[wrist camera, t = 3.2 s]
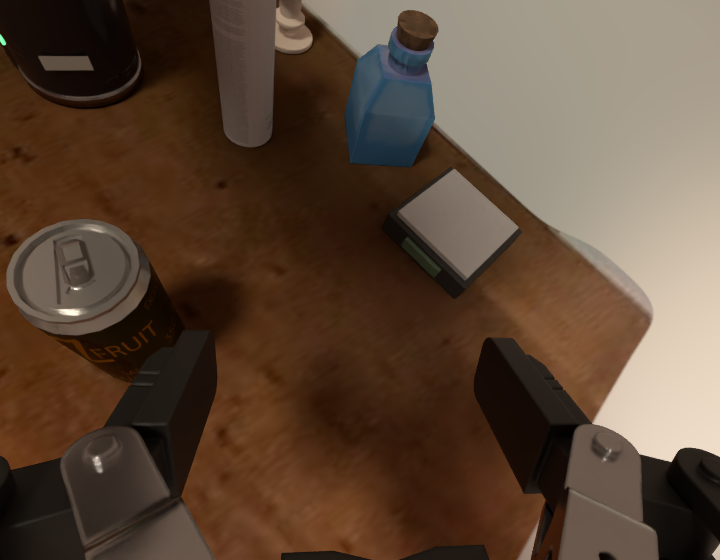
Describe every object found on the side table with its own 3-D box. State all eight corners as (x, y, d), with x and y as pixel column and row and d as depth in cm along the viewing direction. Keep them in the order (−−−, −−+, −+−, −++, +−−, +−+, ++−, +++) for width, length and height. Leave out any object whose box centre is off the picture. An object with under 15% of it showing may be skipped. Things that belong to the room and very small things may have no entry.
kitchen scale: (378, 229, 36) (387, 212, 34) (441, 181, 40) (453, 162, 38) (451, 301, 35) (466, 288, 32) (509, 243, 39) (526, 228, 36)
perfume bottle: (350, 163, 39) (383, 46, 28) (344, 115, 41) (373, -9, 31) (411, 167, 40) (465, 57, 29) (401, 120, 43) (448, 4, 32)
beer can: (93, 325, 28) (-13, 234, 17) (174, 298, 30) (126, 201, 19) (114, 399, 26) (12, 349, 15) (199, 365, 28) (160, 299, 17)
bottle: (269, 151, 37) (276, -139, 19) (219, 143, 36) (180, -168, 19) (274, 117, 39) (285, -177, 21) (227, 108, 38) (198, -204, 20)
